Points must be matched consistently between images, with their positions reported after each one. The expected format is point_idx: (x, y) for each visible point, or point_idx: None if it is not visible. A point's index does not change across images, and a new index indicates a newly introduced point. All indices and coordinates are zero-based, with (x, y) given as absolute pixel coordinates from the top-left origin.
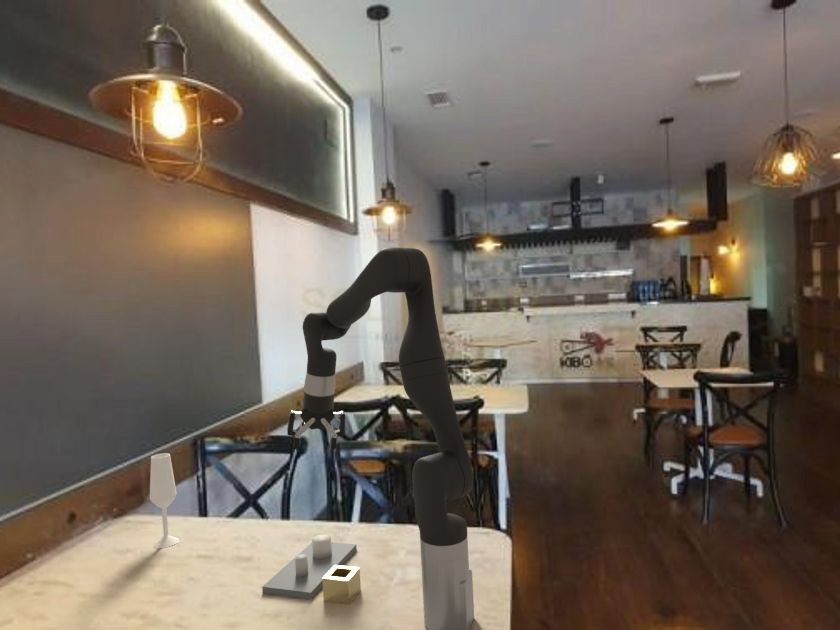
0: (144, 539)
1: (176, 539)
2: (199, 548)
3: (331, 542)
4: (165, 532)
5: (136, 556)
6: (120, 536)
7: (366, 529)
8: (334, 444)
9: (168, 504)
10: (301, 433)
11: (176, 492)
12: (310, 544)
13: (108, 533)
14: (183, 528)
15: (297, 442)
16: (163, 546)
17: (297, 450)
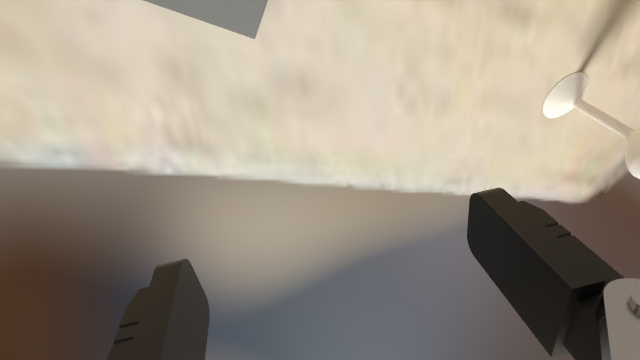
0: None
1: (552, 101)
2: (519, 60)
3: (191, 14)
4: (585, 103)
5: (625, 37)
6: None
7: (109, 132)
8: (136, 330)
9: (636, 134)
10: (624, 354)
11: (635, 165)
12: (261, 10)
13: None
14: (527, 154)
15: (557, 243)
16: (576, 75)
17: (492, 192)
